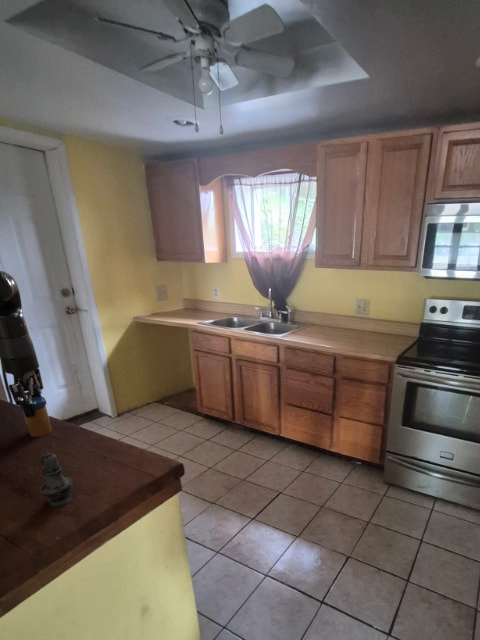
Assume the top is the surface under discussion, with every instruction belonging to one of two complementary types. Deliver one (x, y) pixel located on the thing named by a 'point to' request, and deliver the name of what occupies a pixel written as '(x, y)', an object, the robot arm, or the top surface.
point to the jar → (38, 423)
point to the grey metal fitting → (55, 482)
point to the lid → (37, 402)
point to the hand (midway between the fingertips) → (35, 411)
